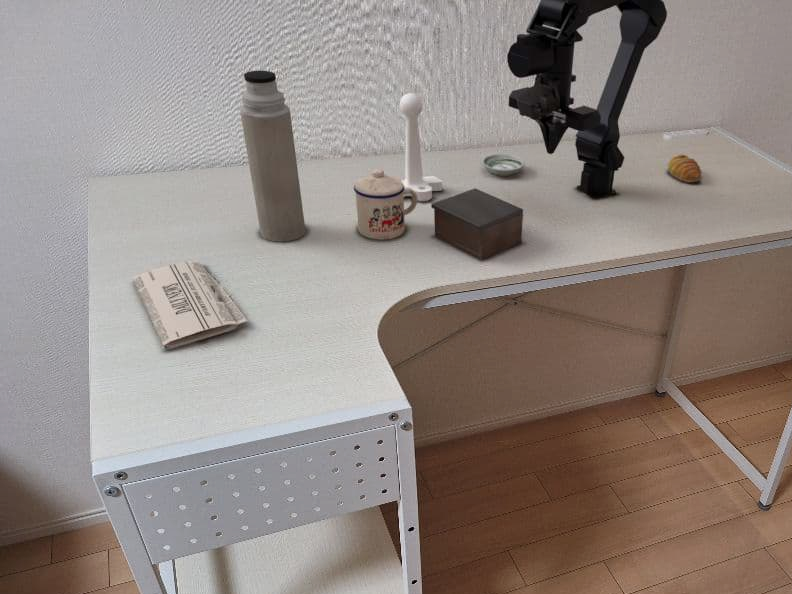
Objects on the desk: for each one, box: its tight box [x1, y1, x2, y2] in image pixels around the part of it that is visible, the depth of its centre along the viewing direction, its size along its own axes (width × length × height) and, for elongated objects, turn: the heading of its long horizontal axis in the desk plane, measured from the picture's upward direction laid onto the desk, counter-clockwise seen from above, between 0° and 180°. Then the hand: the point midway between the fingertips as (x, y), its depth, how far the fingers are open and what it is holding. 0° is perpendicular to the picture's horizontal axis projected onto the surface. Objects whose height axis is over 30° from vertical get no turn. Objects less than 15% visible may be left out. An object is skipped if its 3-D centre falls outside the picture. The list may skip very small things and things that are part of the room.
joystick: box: [399, 92, 443, 203], centre depth 153 cm, size 11×8×20 cm
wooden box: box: [433, 209, 524, 261], centre depth 143 cm, size 11×13×6 cm
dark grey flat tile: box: [430, 187, 524, 230], centre depth 141 cm, size 11×13×1 cm
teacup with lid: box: [353, 168, 418, 241], centre depth 142 cm, size 12×9×12 cm
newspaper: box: [132, 259, 248, 350], centre depth 120 cm, size 23×12×2 cm, turn 33°
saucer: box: [481, 153, 526, 177], centre depth 172 cm, size 10×10×2 cm
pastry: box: [667, 154, 702, 183], centre depth 176 cm, size 9×7×4 cm
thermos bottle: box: [239, 70, 306, 242], centre depth 134 cm, size 8×8×28 cm
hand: (550, 153), depth 150 cm, fingers closed
